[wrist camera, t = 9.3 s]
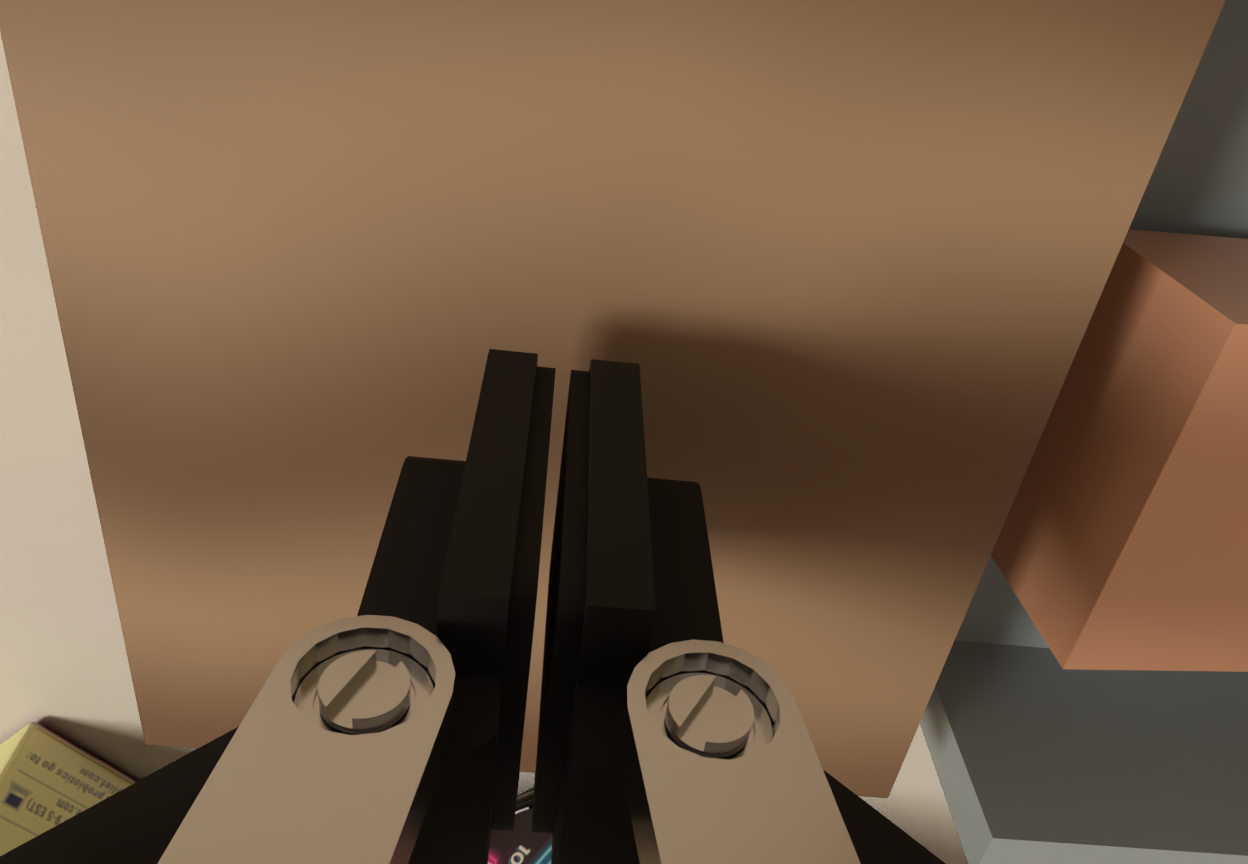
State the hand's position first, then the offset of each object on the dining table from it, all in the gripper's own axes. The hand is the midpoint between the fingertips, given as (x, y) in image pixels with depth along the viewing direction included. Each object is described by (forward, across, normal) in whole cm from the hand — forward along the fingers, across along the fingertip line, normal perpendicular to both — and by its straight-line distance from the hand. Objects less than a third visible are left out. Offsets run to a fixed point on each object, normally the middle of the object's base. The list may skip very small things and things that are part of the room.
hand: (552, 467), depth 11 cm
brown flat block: (+5, 0, 0) cm, 5 cm away
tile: (+4, -10, 0) cm, 11 cm away
